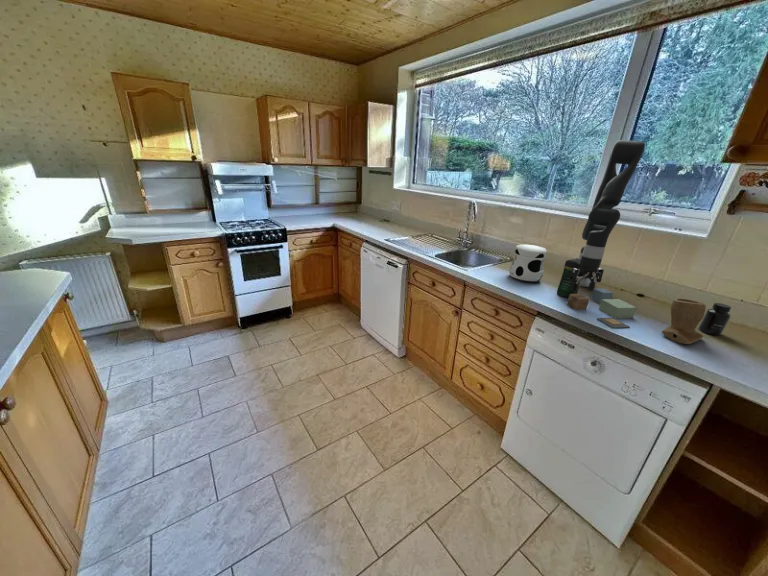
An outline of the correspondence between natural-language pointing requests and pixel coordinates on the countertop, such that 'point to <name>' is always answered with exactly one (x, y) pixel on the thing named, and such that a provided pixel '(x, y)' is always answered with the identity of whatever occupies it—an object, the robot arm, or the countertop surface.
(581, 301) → the walnut cube
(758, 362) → the countertop surface
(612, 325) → the tile
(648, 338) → the countertop surface
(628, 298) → the countertop surface
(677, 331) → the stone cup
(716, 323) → the supplement bottle
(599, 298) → the blue-grey cube
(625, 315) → the sage base block
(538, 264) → the milk container
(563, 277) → the coffee jar
